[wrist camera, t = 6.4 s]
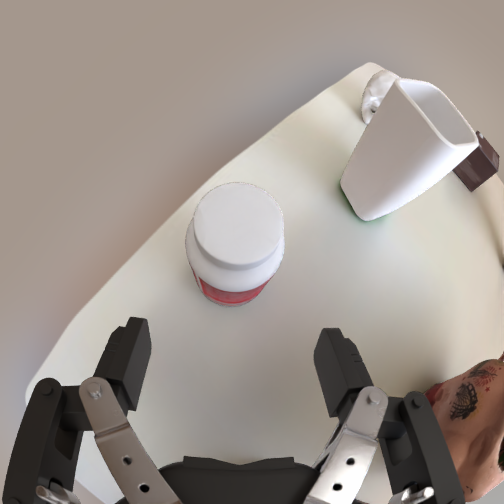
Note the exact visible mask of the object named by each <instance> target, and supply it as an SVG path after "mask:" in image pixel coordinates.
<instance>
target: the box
mask: <svg viewBox="0 0 504 504" xmlns="http://www.w3.org/2000/svg"><path fill="white" fill-rule="evenodd" d="M475 134H476V136H477V138H478V143H479V146H478V147H477V148H476V149H474V150H473V151H472V152H471V153H470V154H469V155H468V156H467V157H466V158H465V159H464V160H463V161H461V162H460V163H459V164H458V165H457V166H456V167H455V168H454V169H453V170H454V172H455V173H456V174H457V175H458V176H459V177H460V178H461V180H462V181H463V182H464V183H465V185H466V186H467V187H468V188H469V190H470V191H471V192H472V191H474V190H475V189H476V188H477V187H479V186H480V185H481V184H483V183H484V182H485V181H486V180H488V179H489V178H490V177H491V176H493V175H494V174H495V173H496V172H498V167H499V155H498V154H497V152H496V151H495V150H494V149H493V147H492V146H491V145H490V144H489V143H488V141H487V140H486V139H485V138H484V137H483V135H482V134H481V133H480V132H479V131H477V132H476V133H475Z"/></svg>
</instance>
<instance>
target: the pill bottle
mask: <svg viewBox="0 0 504 504" xmlns="http://www.w3.org/2000/svg"><path fill="white" fill-rule="evenodd" d="M283 230H284V220H283V215H282V212H281V209H280V207H279V205H278V204H277V202H276V200H275V199H274V198H273V197H272V196H271V195H270V194H269V193H267V192H266V191H265V190H263V189H261V188H259V187H257V186H255V185H252V184H248V183H240V182H235V183H227V184H223V185H220V186H218V187H216V188H214V189H212V190H211V191H209V192H208V193H207V194H206V195H205V196H204V197H203V198H202V199H201V200H200V202H199V203H198V205H197V207H196V210H195V213H194V217H193V219H192V220H191V222H190V224H189V227H188V230H187V233H186V240H185V245H186V253H187V257H188V260H189V263H190V265H191V268H192V270H193V273H194V276H195V279H196V282H197V284H198V286H199V288H200V289H201V291H202V292H203V294H204V295H205V296H206V297H207V298H208V299H210V300H211V301H213V302H214V303H216V304H219V305H222V306H227V307H235V306H240V305H243V304H246V303H248V302H250V301H251V300H253V299H254V298H255V297H256V296H257V295H258V294H259V293H260V292H261V290H262V289H263V288H264V286H265V285H266V284H267V283H268V281H269V280H270V279H271V277H272V276H273V275H274V274H275V272H276V271H277V269H278V267H279V265H280V264H281V261H282V258H283V255H284V247H285V242H284V235H283Z"/></svg>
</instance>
